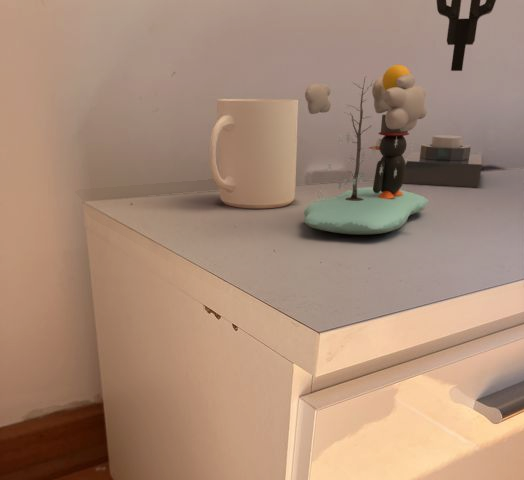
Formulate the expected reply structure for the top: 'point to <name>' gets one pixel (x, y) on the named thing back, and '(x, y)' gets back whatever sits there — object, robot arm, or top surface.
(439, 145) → the flush button
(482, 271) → the top surface
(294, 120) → the mug
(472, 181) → the push button box
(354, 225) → the penguin figurine
